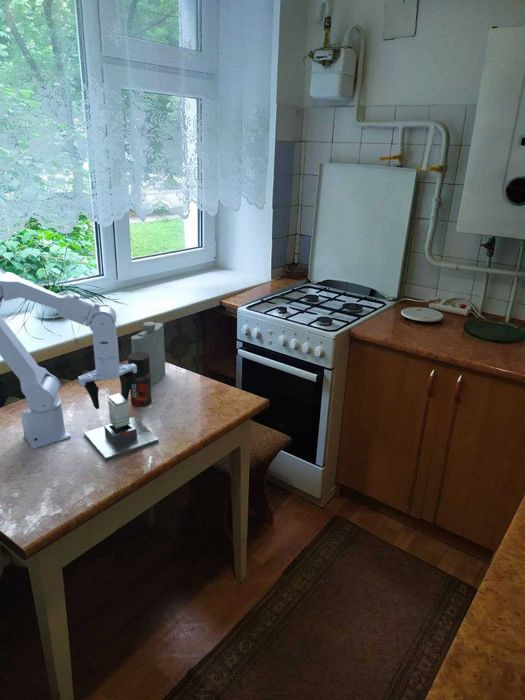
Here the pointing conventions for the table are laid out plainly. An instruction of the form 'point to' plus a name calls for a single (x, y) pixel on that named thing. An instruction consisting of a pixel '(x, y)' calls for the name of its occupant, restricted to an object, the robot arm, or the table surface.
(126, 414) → the column
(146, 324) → the hip flask
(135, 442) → the base plate with holder
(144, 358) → the deodorant
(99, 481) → the table surface
